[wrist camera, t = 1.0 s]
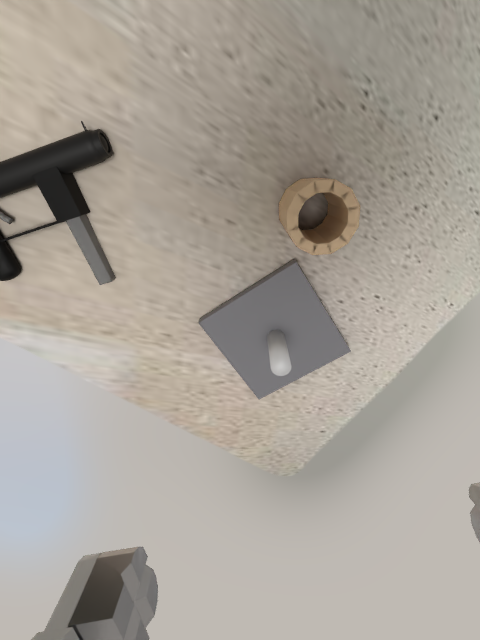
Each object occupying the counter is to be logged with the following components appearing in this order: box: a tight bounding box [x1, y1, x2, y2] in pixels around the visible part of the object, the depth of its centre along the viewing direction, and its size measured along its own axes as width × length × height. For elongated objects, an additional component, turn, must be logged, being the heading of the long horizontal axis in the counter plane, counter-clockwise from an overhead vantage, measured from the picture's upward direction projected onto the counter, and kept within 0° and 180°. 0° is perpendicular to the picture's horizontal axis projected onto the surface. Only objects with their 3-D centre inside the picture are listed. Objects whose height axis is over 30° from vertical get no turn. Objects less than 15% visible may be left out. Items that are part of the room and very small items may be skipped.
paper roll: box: [279, 178, 360, 255], centre depth 33 cm, size 6×6×8 cm
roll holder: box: [199, 259, 351, 399], centre depth 39 cm, size 14×14×8 cm
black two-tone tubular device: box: [0, 121, 116, 285], centre depth 37 cm, size 3×20×16 cm
